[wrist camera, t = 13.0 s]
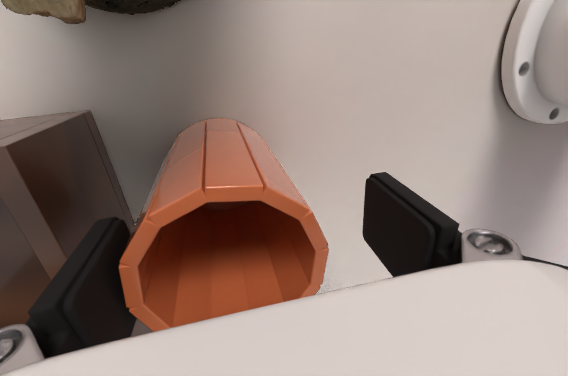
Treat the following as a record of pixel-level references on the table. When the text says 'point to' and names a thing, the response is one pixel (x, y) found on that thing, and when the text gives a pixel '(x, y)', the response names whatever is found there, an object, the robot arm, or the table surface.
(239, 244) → the cup
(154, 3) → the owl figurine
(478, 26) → the table surface
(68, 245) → the chest
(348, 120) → the table surface
